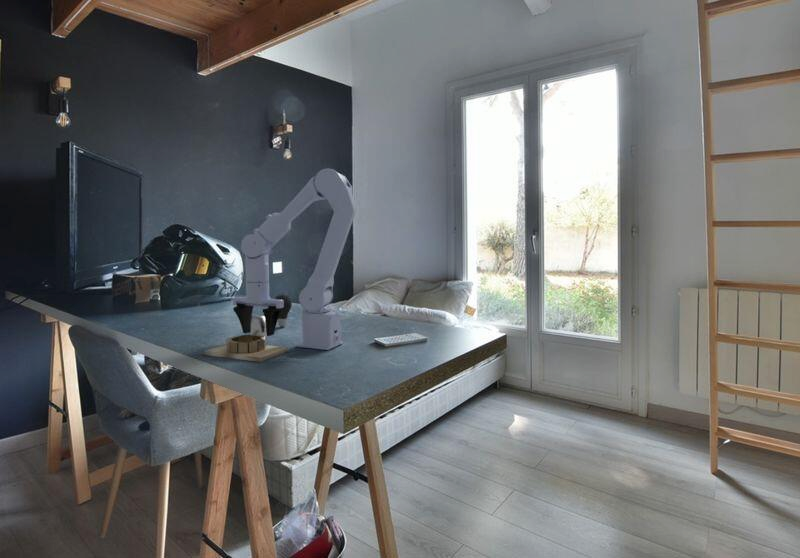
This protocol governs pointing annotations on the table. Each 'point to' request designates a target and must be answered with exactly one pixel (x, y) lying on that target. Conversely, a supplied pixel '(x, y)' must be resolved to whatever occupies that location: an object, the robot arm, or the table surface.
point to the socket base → (247, 356)
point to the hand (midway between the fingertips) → (258, 333)
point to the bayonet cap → (258, 325)
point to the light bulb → (284, 309)
